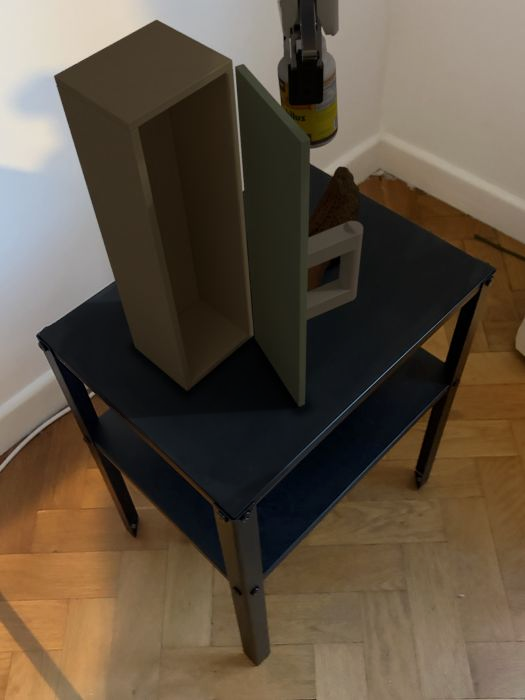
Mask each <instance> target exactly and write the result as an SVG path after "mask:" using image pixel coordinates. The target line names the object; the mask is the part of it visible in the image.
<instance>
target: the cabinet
mask: <svg viewBox="0 0 525 700" xmlns="http://www.w3.org/2000/svg"><path fill="white" fill-rule="evenodd" d="M234 75H235V74H234V63H233V59H231V58H230V57H229V56H226V55H224V54H223V53H220V52H219V51H216V50H214V49H213V48H211V47H209V46H207V45H205V44H204V43H201V42H200V41H198V40H196V39H194V38H192V37H190V36H188V35H187V34H185V33H183V32H181V31H179V30H178V29H175V28H174V27H172V26H170V25H168V24H166V23H164V22H163V21H161V20H159V19H154V20H152V21H151V22H149V23H147V24H146V25H143V26H142V27H140V28H138V29H136V30H135V31H133V32H130V33H129V34H127V35H126V36H124V37H122V38H120V39H118V40H117V41H114V42H113V43H111V44H109V45H107V46H105V47H104V48H102V49H100V50H98V51H96V52H94V53H92V54H90V55H88V56H87V57H85V58H83V59H82V60H79V61H78V62H77V63H74V64H72V65H71V66H69V67H67V68H65V69H63V70H61V71H60V72H58V73H56V74H55V75H53V79H54V81H55V84H56V85H55V86H56V89H57V92H58V96H59V99H60V102H61V105H62V109H63V113H64V115H65V119H66V123H67V126H68V129H69V132H70V135H71V138H72V143H73V146H74V149H75V152H76V155H77V159H78V163H79V166H80V168H81V172H82V175H83V179H84V182H85V187H86V189H87V193H88V195H89V198H90V199H89V200H90V203H91V206H92V208H93V212H94V216H95V219H96V222H97V225H98V229H99V231H100V236H101V239H102V242H103V245H104V249H105V251H106V255H107V259H108V262H109V266H110V269H111V272H112V275H113V278H114V282H115V285H116V288H117V292H118V295H119V298H120V302H121V305H122V309H123V311H124V315H125V318H126V321H127V325H128V328H129V332H130V336H131V339H132V342H133V345H134V348H135V349H137V350H138V351H139V352H140V353H141V354H143V356H145V357H146V358H147V359H148V360H149V361H151V363H153V364H154V365H155V366H157V367H158V368H159V369H160V370H161V371H163V372H164V373H165V374H166V375H167V376H168V377H170V378H171V379H172V380H173V381H174V382H176V383H177V384H178V385H179V386H180V387H182V388H183V389H184V390H185V391H187V392H188V391H189V390H191V389H192V388H193V387H194V386H195V385H196V384H197V383H199V382H200V381H202V379H203V378H204V377H206V376H207V375H208V374H210V373H211V372H212V371H213V370H214V369H216V367H217V366H219V365H220V364H222V362H224V361H225V360H226V359H227V358H228V357H230V356H231V355H232V354H234V352H236V351H237V350H238V349H239V348H240V347H242V345H244V344H245V343H246V342H248V341H249V340H250V339H251V338H252V337H253V336H255V333H254V320H253V307H252V296H251V295H250V282H249V274H250V268H249V255H248V242H247V229H246V216H245V203H244V190H243V177H242V167H241V166H242V164H241V151H240V142H239V141H240V138H239V125H238V115H237V114H238V112H237V102H236V87H235V76H234Z"/></svg>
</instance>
